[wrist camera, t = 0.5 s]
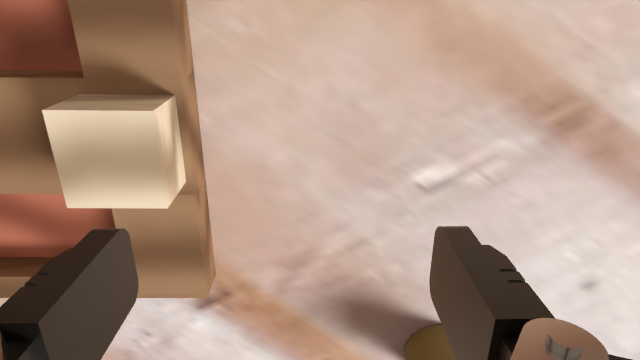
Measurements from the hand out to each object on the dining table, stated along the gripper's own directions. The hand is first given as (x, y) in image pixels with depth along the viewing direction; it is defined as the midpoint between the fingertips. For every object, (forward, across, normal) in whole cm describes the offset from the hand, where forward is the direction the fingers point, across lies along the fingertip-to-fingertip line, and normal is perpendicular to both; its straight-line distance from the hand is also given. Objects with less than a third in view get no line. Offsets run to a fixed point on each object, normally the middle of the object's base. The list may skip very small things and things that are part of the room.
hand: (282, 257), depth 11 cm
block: (+17, +11, +2) cm, 21 cm away
